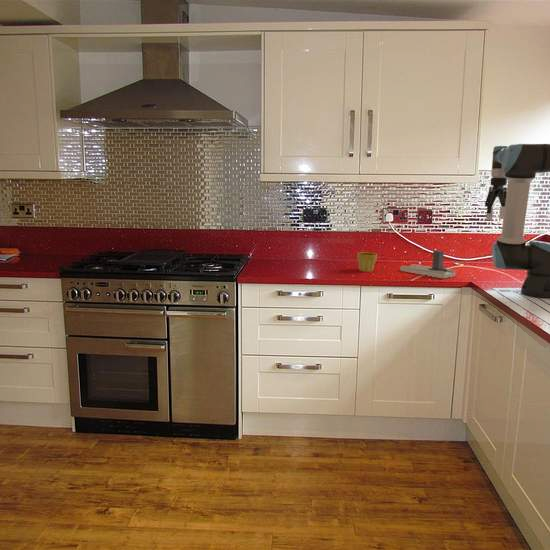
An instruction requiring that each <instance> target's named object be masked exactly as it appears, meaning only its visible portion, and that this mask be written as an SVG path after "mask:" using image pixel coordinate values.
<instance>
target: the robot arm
mask: <svg viewBox="0 0 550 550" xmlns="http://www.w3.org/2000/svg"><path fill="white" fill-rule="evenodd" d="M491 161H492V162H491V171H490V173H491V178H490V185H491V186H490V187H489V189H488V192H487V197H486V199H485V202H484V207H487V208H486V221H493V215H494V214H493V212H494V206H493V205H494V204H495V201H496V199H497V198H498V200H499V203H500V206H499V213H498V214H499V216H498V220H502V228H501V235H500V236H497V238H496V241H494V242H493V243H491V244H492V245H491V256H492V257H491V258H492V263H493V265H494V267H495V268H496V269H499V270H505V271H507V270H515V271H517V270H518V271H526V277H525V279H524V281H523V283H522V285H521V287H520V288H521V290H520V293H521V294H523V295H526V296H530V297H537V298H550V242H547V241H540V240H532V239H531V240H530V241H529V242H528V243H527V240H526V238H525V237H524V231H525V223H526V218H527V209H528V201H529V195H530V187H531V182H532V181H533V180H535V178H536V174H539V173H540V174H541V173H543V174H545V173H550V143H515V144H510V145H497V146H494V147H493V149H492V159H491ZM504 186H505V187H504Z"/></svg>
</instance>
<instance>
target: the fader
mask: <svg viewBox="0 0 550 550" xmlns="http://www.w3.org/2000/svg"><path fill="white" fill-rule="evenodd" d="M444 253H445V251H444V250H439V249H438V250H433V252H432V265H431V267H432V268H428V270H435V271H442V272H445V271H446V269H447V268H444Z"/></svg>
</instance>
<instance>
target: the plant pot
mask: <svg viewBox="0 0 550 550" xmlns="http://www.w3.org/2000/svg"><path fill="white" fill-rule="evenodd" d="M356 254H357V255H356V260H357V263H358V268H359V269H358V271H360V272H364V273H365V272H366V273H368V272H370V273H371V272H373V270H374V266H375V263H376V261H378V260H377V259H378V254H377V253H374V252H369V251H361V252H357V253H356Z"/></svg>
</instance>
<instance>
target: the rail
mask: <svg viewBox="0 0 550 550" xmlns="http://www.w3.org/2000/svg"><path fill="white" fill-rule="evenodd" d="M428 268H432V266H427V265H421V264H420V265H419V264H414V263H413V264H410V266H407V265H400V268H399V269H400V271H401V272H406V273H410V274H411V273H412V274H416V275H420V274H421V275H422V276H425V275H427V276H426V277H431V276H432V277H431V278H438V279H449V277H450V278H454V276H455V277H456V269H448V268H446V271H445V272H442V271H435V270H428Z"/></svg>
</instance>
